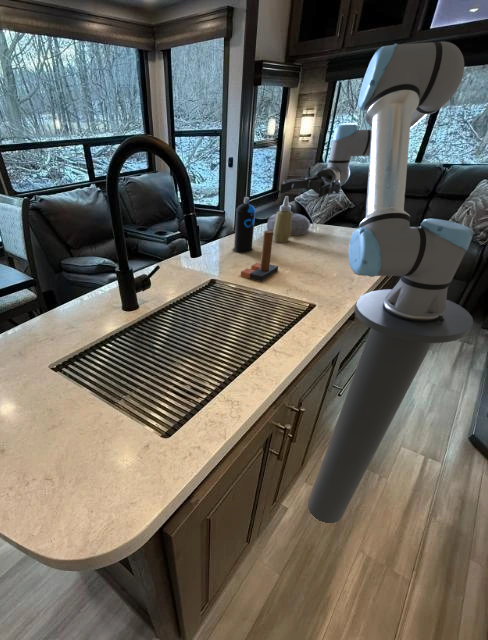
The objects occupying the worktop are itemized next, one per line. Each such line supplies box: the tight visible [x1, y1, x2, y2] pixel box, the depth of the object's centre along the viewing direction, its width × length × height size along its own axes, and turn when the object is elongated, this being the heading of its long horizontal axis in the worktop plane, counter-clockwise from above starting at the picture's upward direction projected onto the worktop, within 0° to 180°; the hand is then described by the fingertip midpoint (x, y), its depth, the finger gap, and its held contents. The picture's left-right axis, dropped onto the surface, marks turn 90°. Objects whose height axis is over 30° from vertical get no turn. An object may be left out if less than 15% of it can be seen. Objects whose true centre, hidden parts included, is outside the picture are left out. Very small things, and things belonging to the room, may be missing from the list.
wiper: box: [250, 229, 279, 282], centre depth 118 cm, size 5×12×15 cm, turn 140°
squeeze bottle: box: [273, 195, 293, 244], centre depth 148 cm, size 8×8×18 cm
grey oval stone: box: [266, 212, 311, 236], centre depth 162 cm, size 15×8×20 cm
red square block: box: [240, 268, 255, 280], centre depth 123 cm, size 4×4×2 cm
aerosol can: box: [233, 196, 257, 254], centre depth 140 cm, size 8×8×20 cm
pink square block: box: [250, 262, 261, 270], centre depth 127 cm, size 4×4×2 cm
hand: (300, 190), depth 109 cm, fingers open, 13 cm apart
